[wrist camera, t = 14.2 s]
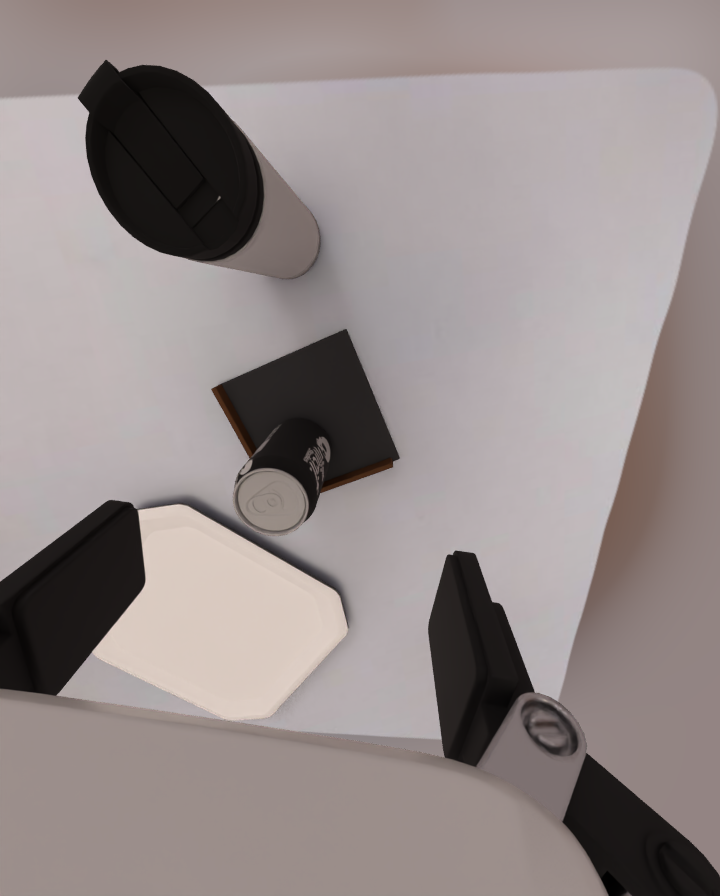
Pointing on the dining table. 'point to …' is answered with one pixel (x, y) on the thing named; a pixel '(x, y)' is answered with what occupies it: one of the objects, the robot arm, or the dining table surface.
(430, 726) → the dining table surface
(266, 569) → the plate
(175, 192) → the travel mug
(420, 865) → the robot arm
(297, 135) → the dining table surface
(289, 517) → the beverage can
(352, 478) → the corner mat
